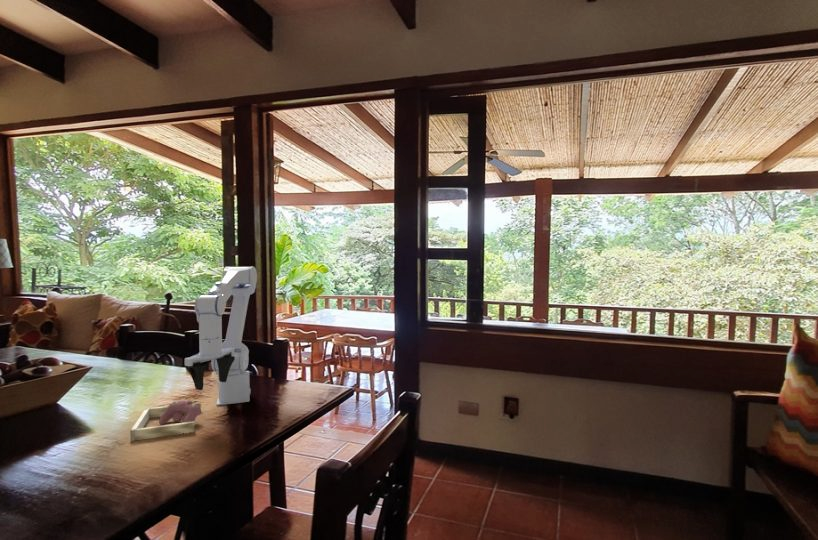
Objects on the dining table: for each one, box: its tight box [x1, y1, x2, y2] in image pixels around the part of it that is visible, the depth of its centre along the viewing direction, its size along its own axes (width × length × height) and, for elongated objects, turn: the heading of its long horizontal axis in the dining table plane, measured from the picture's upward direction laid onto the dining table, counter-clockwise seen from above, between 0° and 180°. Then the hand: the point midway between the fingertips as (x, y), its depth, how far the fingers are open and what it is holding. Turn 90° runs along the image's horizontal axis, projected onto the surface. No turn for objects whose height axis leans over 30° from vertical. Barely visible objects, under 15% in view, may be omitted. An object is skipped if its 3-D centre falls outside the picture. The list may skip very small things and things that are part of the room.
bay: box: [129, 401, 202, 442], centre depth 110 cm, size 14×16×2 cm
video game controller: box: [158, 400, 201, 426], centre depth 111 cm, size 10×5×7 cm, turn 71°
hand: (211, 385), depth 114 cm, fingers open, 7 cm apart
